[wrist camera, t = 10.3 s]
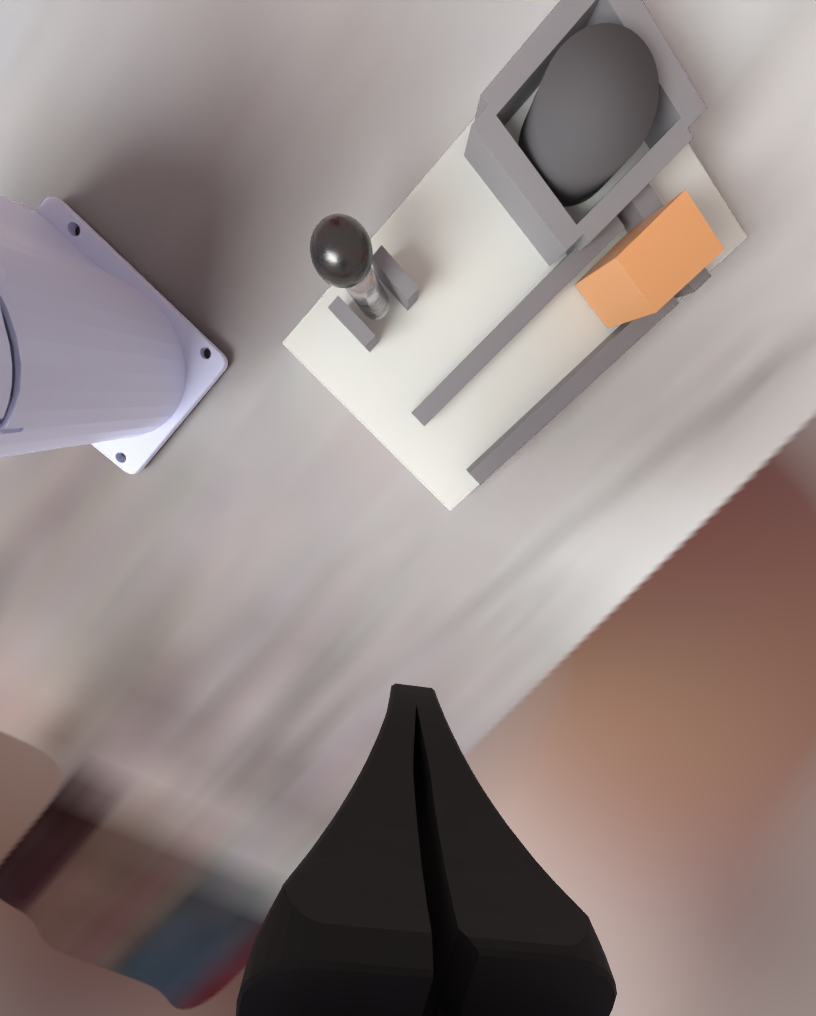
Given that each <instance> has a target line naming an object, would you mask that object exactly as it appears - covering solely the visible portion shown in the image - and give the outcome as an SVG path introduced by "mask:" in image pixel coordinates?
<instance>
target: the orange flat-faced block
mask: <svg viewBox="0 0 816 1016" xmlns="http://www.w3.org/2000/svg"><path fill="white" fill-rule="evenodd" d="M723 250H724V248H723V246H722V245H721V243H720V242H719V240H718V238H717V237H716V235H715V234H714V232H713V231H712V229H711V228H710V226H709V225H708V223H707V221H706V220H705V218H704V217H703V215H702V214H701V212H700V211H699V209H698V208H697V206H696V205H695V203H694V201H693V200H692V198H691V197H690V195H689V194H688V192H687V191H686V190H684V191H683V192H681V193H680V194H679V195H677V196H676V197H675V198H673V199H672V200H671V201H669V202H668V203H666V204H665V205H664V206H662V207H661V208H660V209H658V210H657V211H656V212H654V213H653V214H651V215H650V216H649V217H647V218H646V219H645V220H643V221H642V222H641V223H639V224H638V225H636V226H635V227H634V228H632V229H631V230H630V231H628V232H627V233H626V234H625V235H624V236H623V237H622V238H621V239H620V240H619V241H618V242H617V243H616V244H615V245H614V246H613V247H612V248H611V249H610V250H609V251H608V252H607V253H606V254H605V255H604V256H603V257H602V258H601V259H600V260H599V261H598V262H597V263H596V264H595V265H594V266H593V267H592V268H591V269H590V270H589V271H588V272H587V273H586V274H585V275H584V276H583V277H582V278H581V279H580V280H579V281H578V282H577V283H576V284H575V287H576V288H577V289H578V290H579V292H580V293H581V294H582V296H583V297H584V298H585V300H586V301H587V302H588V304H589V305H590V306H591V307H592V309H593V310H594V311H595V313H596V314H597V315H598V317H599V318H600V319H601V321H602V322H603V323H604V324H605V326H606V327H607V328H611V327H614V326H617V325H620V324H623V323H626V322H629V321H632V320H635V319H638V318H641V317H644V316H647V315H650V314H653V313H656V312H657V311H658V310H659V309H660V308H662V307H663V306H664V305H665V304H666V303H667V302H668V301H669V300H670V299H671V298H672V297H673V296H674V295H676V294H677V293H678V292H679V291H680V290H681V289H682V288H683V287H684V286H685V285H686V284H687V283H689V282H690V281H691V280H692V279H693V278H694V277H695V276H696V275H697V274H698V273H699V272H700V271H702V270H703V269H704V268H705V267H706V266H707V265H708V264H709V263H710V262H711V261H712V260H713V259H715V258H716V257H717V256H718V255H719V254H720V253H721V252H722V251H723Z"/></svg>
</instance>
